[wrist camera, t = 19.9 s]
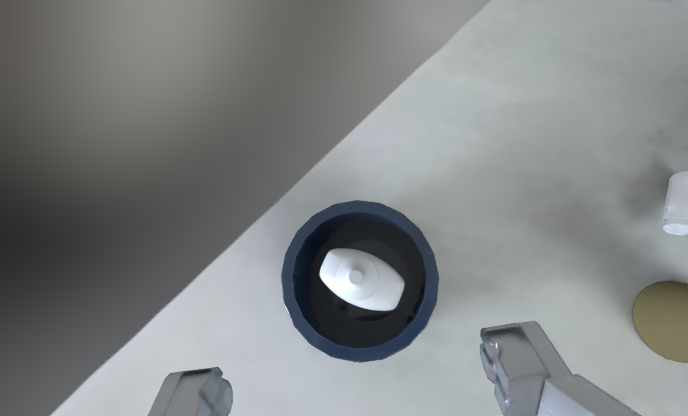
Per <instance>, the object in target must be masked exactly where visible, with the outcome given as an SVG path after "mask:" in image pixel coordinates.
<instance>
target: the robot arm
mask: <svg viewBox="0 0 688 416" xmlns="http://www.w3.org/2000/svg"><path fill="white" fill-rule="evenodd" d="M480 336H481V339H482V341H483V343H482V344H481V345H480V355H481V360H482V364H483V367H484V370H485V373H486V375H487V377H488V379H489V380H490V381H492V382H493V383H494V384H495V393H494V394H495V397H496V399H497V401H498V404H499V406H500V408H501V411H502V413H503V415H504V416H641V415H640V414H638V413H637V412H635V411H634V410H632V409H631V408H629V407H627V406H626V405H624V404H623V403H621V402H620V401H618V400H617V399H615V398H614V397H612V396H611V395H609V394H608V393H606V392H605V391H603V390H602V389H600V388H599V387H597V386H596V385H594V384H593V383H591V382H590V381H588V380H587V379H585V378H584V377H582V376H581V375H579V374H575V375H573V374H572V373H571V371H570V370H569V368H568V367H567V365H566V364H565V362H564V361H563V359H562V358H561V356H560V355H559V353H558V352H557V350H556V349H555V347H554V346H553V344H552V343H551V341H550V340H549V338H548V337H547V335H546V334H545V332H544V331H543V329H542V328H541V326H540V325H539V324H538V323H537V322H536V321H529V322H523V323H517V324H516V323H513V324H507V325H500V326H494V327H488V328H482V330H481V335H480ZM222 374H223V372H222V371H221V370H220V368H219V367H214V368H206V369H199V370H191V371H182V372H175V373H170V374H169V375H168V376H167V377H166V378H165V380H164V382H163V384H162V386H161V388H160V391H159V393H158V395H157V397H156V399H155V401H154V403H153V406H152V408H151V410H150V412H149V414H148V416H228V415H229V413H230V411H231V407H232V403H233V391H232V387H231V384H230V383H229V381H227V380H225V379H223V378H221V377H222Z"/></svg>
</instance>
